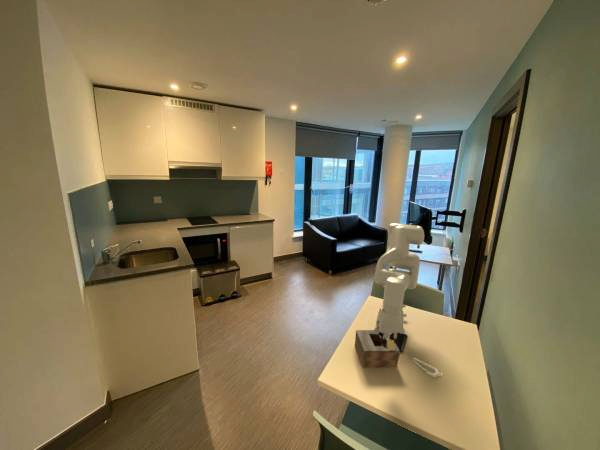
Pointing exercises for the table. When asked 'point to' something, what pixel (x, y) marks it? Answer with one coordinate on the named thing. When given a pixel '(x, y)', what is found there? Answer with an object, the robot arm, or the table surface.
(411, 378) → the table surface
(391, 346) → the wooden block
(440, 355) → the table surface
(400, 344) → the phone
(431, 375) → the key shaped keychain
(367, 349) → the box
